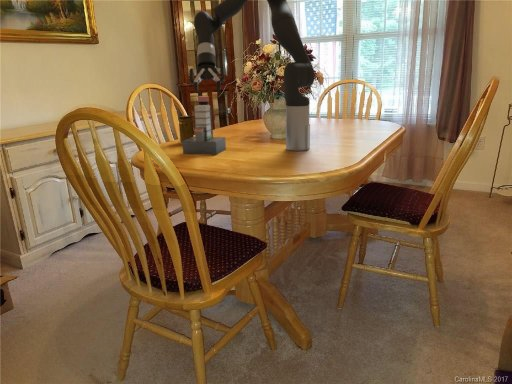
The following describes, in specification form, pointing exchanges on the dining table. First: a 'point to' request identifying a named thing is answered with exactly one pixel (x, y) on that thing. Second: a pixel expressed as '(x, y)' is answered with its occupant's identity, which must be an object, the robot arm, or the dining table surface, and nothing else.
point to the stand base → (203, 144)
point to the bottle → (204, 101)
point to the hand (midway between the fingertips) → (207, 91)
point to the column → (203, 119)
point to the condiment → (185, 128)
